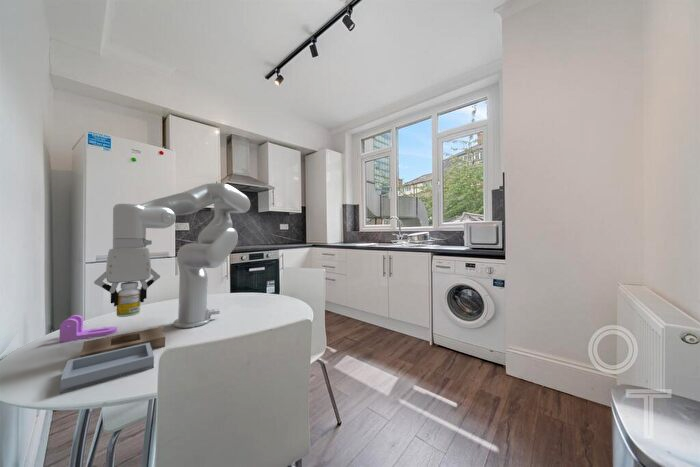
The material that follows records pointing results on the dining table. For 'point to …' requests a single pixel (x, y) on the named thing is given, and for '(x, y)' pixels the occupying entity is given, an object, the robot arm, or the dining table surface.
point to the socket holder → (124, 341)
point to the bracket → (81, 330)
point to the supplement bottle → (128, 299)
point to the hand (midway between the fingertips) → (129, 302)
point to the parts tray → (106, 366)
